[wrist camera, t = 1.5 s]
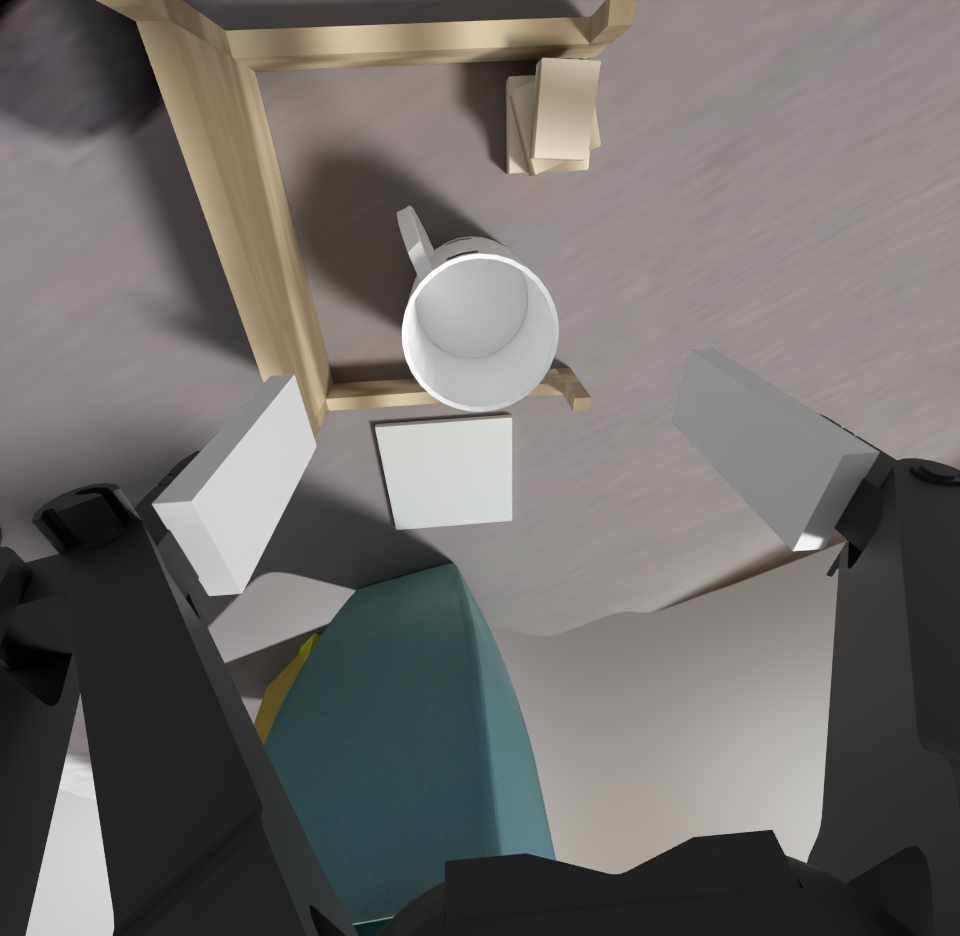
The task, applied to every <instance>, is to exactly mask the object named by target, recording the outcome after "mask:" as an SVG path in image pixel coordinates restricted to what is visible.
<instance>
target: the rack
mask: <svg viewBox="0 0 960 936" xmlns="http://www.w3.org/2000/svg"><path fill="white" fill-rule="evenodd" d="M96 1H98V2H100V3H102V4H104V5H106V6H108V7H110V8H112V9H113V10H115V11H117V12H119V13H121V14H123V15H125V16H127V17H128V18H130V19H132V20H134V21H136V23H137V26H138V29H139V32H140V35H141V37H142V40H143V43H144V46H145V49H146V51H147V54H148V57H149V60H150V63H151V66H152V68H153V71H154V74H155V77H156V80H157V83H158V85H159V88H160V91H161V94H162V97H163V99H164V102H165V105H166V108H167V111H168V114H169V116H170V119H171V122H172V125H173V128H174V131H175V133H176V136H177V139H178V142H179V145H180V148H181V150H182V153H183V156H184V159H185V162H186V164H187V167H188V170H189V173H190V176H191V179H192V181H193V184H194V187H195V190H196V193H197V196H198V198H199V201H200V204H201V207H202V210H203V212H204V215H205V218H206V221H207V224H208V227H209V229H210V232H211V235H212V238H213V241H214V244H215V246H216V249H217V252H218V255H219V258H220V261H221V263H222V266H223V269H224V272H225V275H226V277H227V280H228V283H229V286H230V289H231V292H232V294H233V297H234V300H235V303H236V306H237V309H238V311H239V314H240V317H241V320H242V323H243V325H244V328H245V331H246V334H247V337H248V340H249V342H250V345H251V348H252V351H253V354H254V357H255V359H256V362H257V365H258V368H259V371H260V374H261V376H262V379H263V382H264V383H265V382H266V381H267V379H268V378H269V377H270V376H276V375H292V374H295V377H296V381H297V384H298V387H299V390H300V394H301V397H302V400H303V404H304V407H305V410H306V413H307V417H308V420H309V423H310V426H311V430H312V433H313V436H314V439H315V437H316V435H317V433H318V431H319V429H320V427H321V425H322V423H323V421H324V419H325V417H326V415H327V414H328V412H329V411H333V410H347V409H361V408H375V407H389V406H404V405H418V404H432V403H442V402H440V401H439V400H437V399H436V398H434V397H433V396H431V395H430V394H429V393H428V392H427V391H426V390H425V389H424V388H423V387H422V386H421V385H420V384H419V382H418V381H417V380H416V378H410V379H395V380H381V381H366V382H351V383H337V384H334V381H333V377H332V373H331V369H330V365H329V361H328V358H327V354H326V350H325V346H324V342H323V338H322V334H321V330H320V326H319V322H318V318H317V314H316V310H315V306H314V302H313V298H312V295H311V291H310V287H309V283H308V279H307V275H306V271H305V267H304V263H303V259H302V255H301V251H300V247H299V243H298V239H297V236H296V232H295V228H294V224H293V220H292V216H291V212H290V208H289V204H288V200H287V196H286V192H285V188H284V184H283V180H282V176H281V173H280V169H279V165H278V161H277V157H276V153H275V149H274V145H273V141H272V137H271V133H270V129H269V125H268V121H267V117H266V113H265V110H264V106H263V102H262V98H261V94H260V90H259V86H258V82H257V78H256V74H255V71H276V70H300V69H324V68H347V67H371V66H395V65H419V64H442V63H466V62H490V61H514V60H538V59H542V58H557V59H561V58H582V57H585V56H586V57H596V56H597V55H598V54H599V53H600V52H602V51H603V50H604V49H605V48H606V47H608V46H609V45H610V44H611V43H612V42H613V41H615V40H616V39H617V38H618V37H619V36H621V35H622V34H623V33H624V32H625V31H626V30H628V29H629V28H630V27H631V26H632V25H633V22H634V13H635V4H636V0H606V1H605V2H604V3H603V4H602V5H601V6H600V7H599V9H598V10H597V11H596V12H595V13H594V14H593V15H592V17H568V18H542V19H516V20H490V21H464V22H438V23H412V24H386V25H360V26H334V27H308V28H282V29H257V30H231V31H225V30H224V29H222V28H221V27H220V26H218V25H217V24H215V23H214V22H212V21H211V20H210V19H208V18H207V17H205V16H204V15H203V14H201V13H200V12H198V11H197V10H196V9H194V8H193V7H191V6H190V5H188V4H187V3H186V2H184V1H183V0H96ZM560 394H564V396H565V398H566V399H567V401H568V403H569V405H570V406H571V408H572V410H573V411H581V410H589V407H590V398H591V397H590V396H589V394H588V393H587V391H586V390H585V389H584V387H583V386H582V384H581V383H580V381H579V380H578V378H577V377H576V376H575V374H574V373H573V371H572V370H571V368H556V369H549V370H548V372H547V373H546V375H545V376H544V378H543V379H542V381H541V382H540V383H539V384H538V385H537V386H536V387H535V389H534V390H532V391H531V392H530V393H529V394H527V395H526V396H525V397H531V396H545V395H560Z"/></svg>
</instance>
